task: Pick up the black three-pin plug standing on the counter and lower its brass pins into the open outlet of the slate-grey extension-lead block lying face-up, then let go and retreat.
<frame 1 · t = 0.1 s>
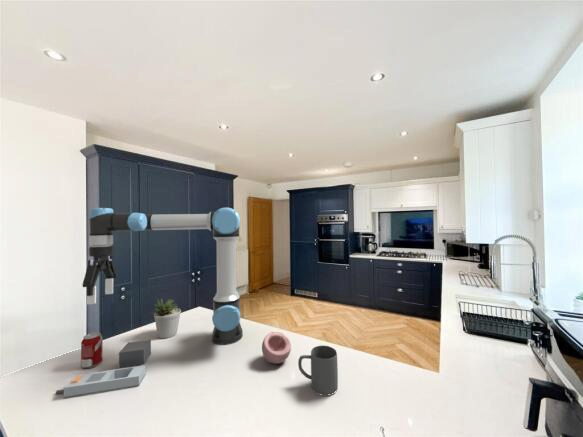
hand: (100, 298, 95), 28 cm above the counter, fingers open, 13 cm apart
plug: (135, 365, 96), on the counter
socket strip: (107, 385, 84), on the counter
pink round pot: (276, 361, 98), on the counter
soda can: (91, 365, 97), on the counter
mug: (318, 387, 82), on the counter
potted plant: (166, 335, 123), on the counter
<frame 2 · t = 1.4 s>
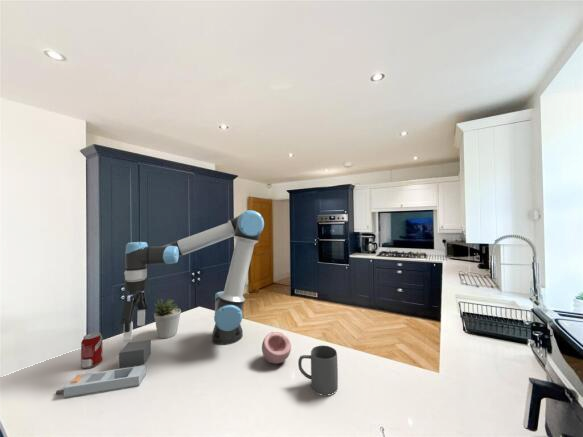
hand: (134, 332, 96), 14 cm above the counter, fingers open, 13 cm apart
nothing on the counter moved.
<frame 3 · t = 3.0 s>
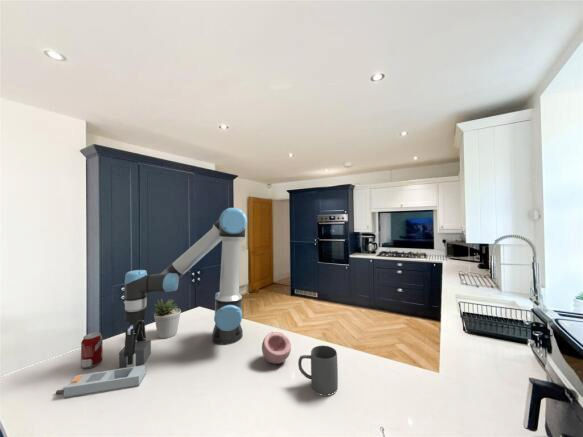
hand: (135, 364, 96), 0 cm above the counter, fingers closed on plug, 8 cm apart
plug: (135, 365, 96), on the counter, touching gripper
everything else where it was.
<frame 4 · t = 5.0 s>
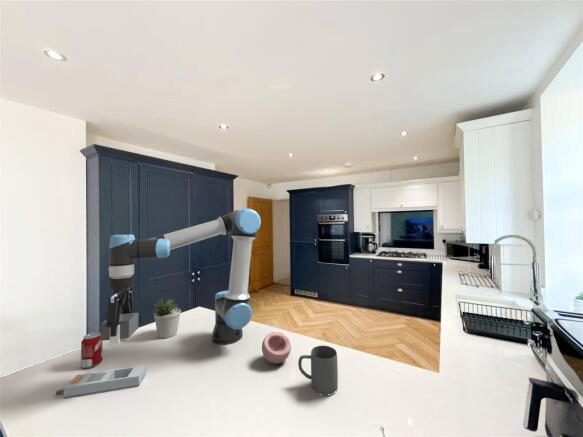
hand: (120, 338, 86), 16 cm above the counter, fingers closed on plug, 8 cm apart
plug: (120, 339, 86), point 15 cm above the counter, touching gripper
everything else where it was.
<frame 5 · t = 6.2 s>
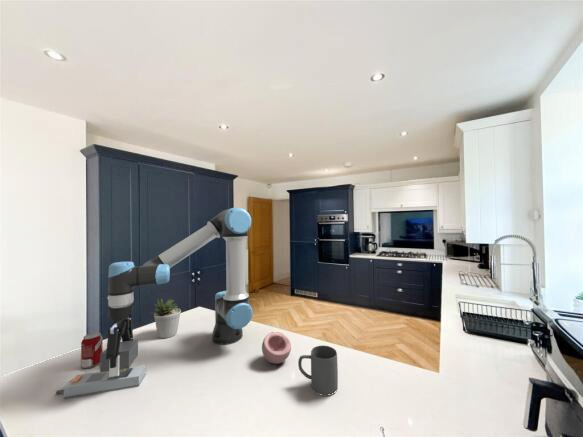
hand: (120, 368, 85), 6 cm above the counter, fingers closed on plug, 8 cm apart
plug: (120, 369, 85), point 5 cm above the counter, touching gripper
everything else where it was.
when the fingers open (3 cm above the counter, at t = 7.1 s): plug stays where it is, resting on socket strip.
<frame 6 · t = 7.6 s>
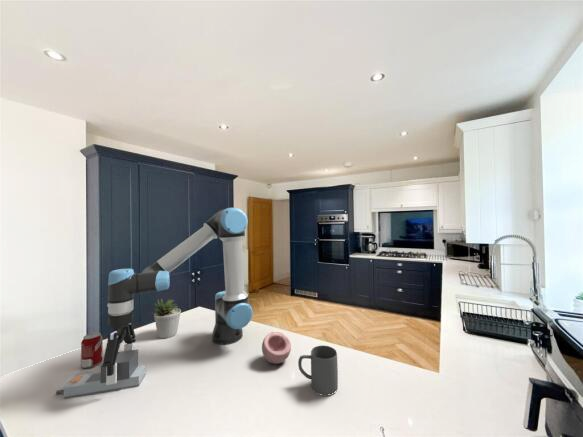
hand: (120, 371, 85), 4 cm above the counter, fingers open, 13 cm apart
plug: (120, 379, 85), point 1 cm above the counter, touching socket strip
everything else where it was.
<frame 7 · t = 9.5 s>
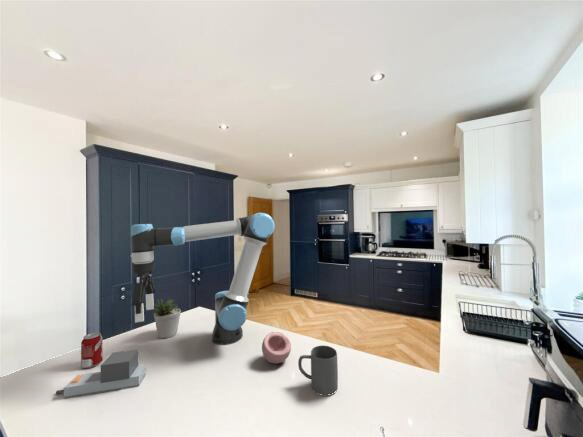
hand: (145, 315, 95), 21 cm above the counter, fingers open, 13 cm apart
nothing on the counter moved.
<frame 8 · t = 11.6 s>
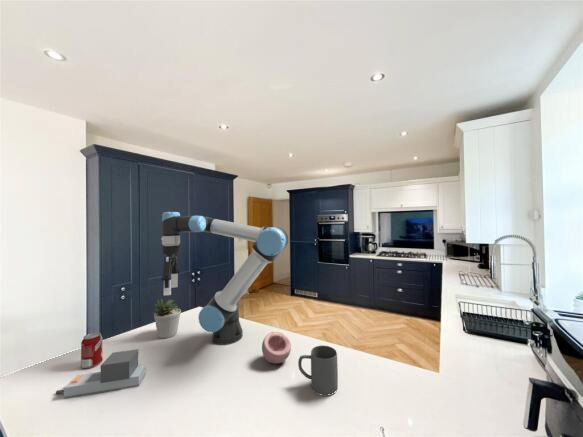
hand: (171, 291, 109), 27 cm above the counter, fingers open, 13 cm apart
nothing on the counter moved.
at the end: plug 0.1 cm from the target spot on the socket strip, point 1.5 cm above the socket strip's base; plug tilted 0°; the gripper is holding nothing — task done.
